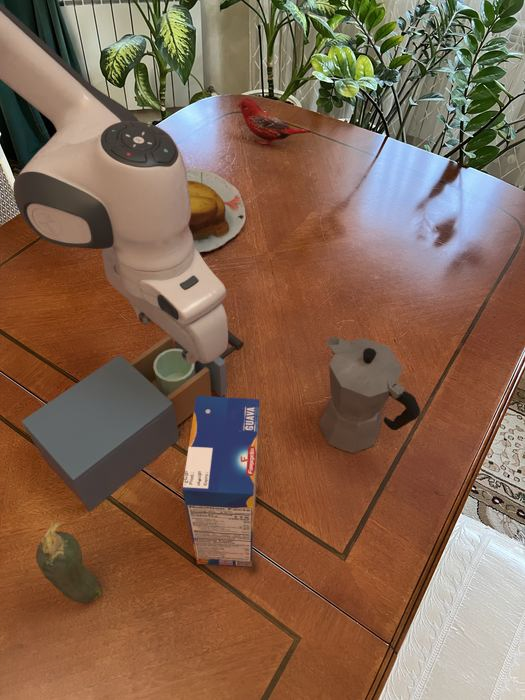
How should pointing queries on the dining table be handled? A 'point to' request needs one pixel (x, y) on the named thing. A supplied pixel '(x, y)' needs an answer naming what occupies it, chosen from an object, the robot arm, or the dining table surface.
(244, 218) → the food on plate
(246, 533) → the beverage box
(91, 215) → the robot arm
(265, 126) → the decorative bird figurine
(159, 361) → the cup
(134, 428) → the cabinet
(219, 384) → the drawer
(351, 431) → the coffeepot
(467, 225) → the dining table surface
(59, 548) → the vegetable
